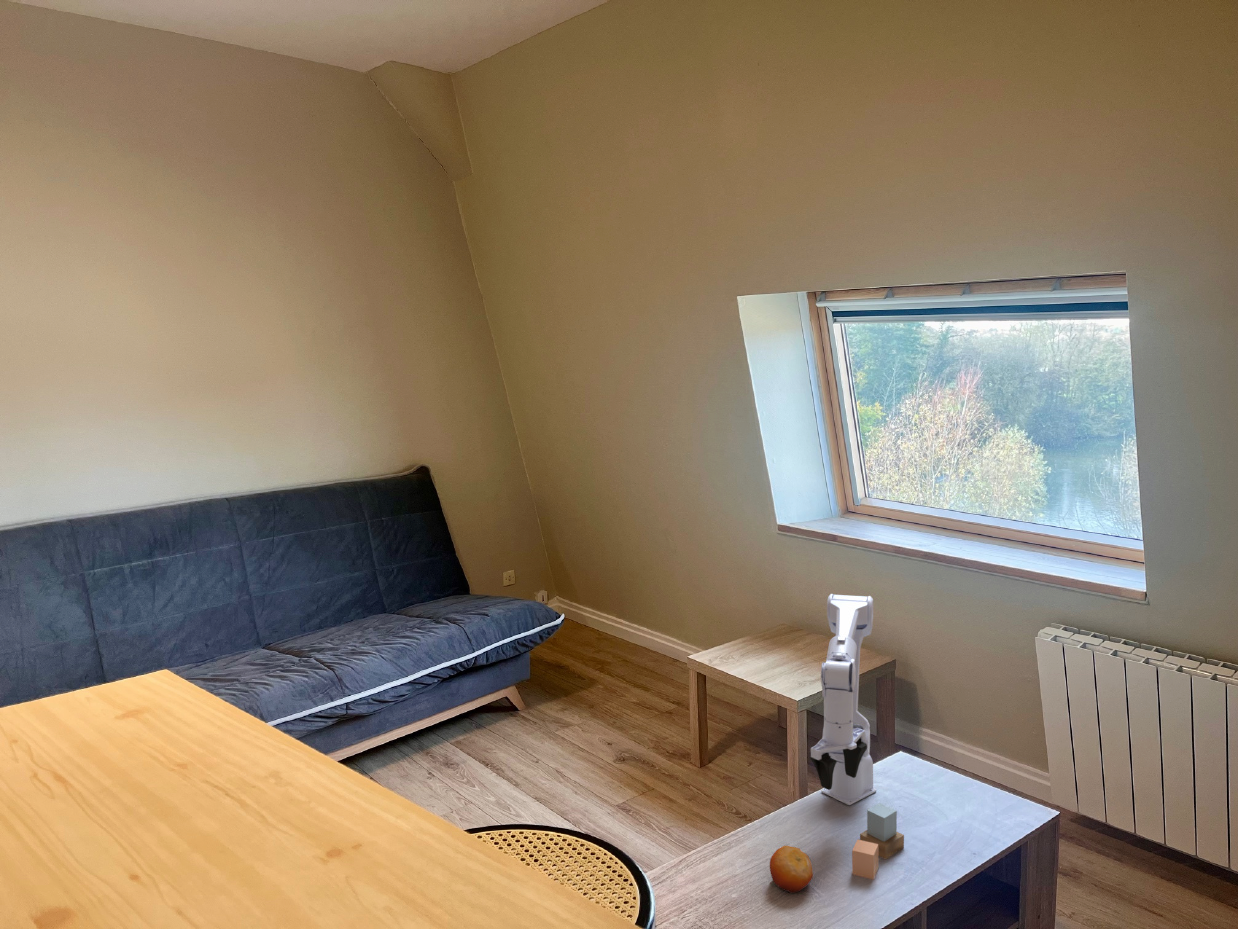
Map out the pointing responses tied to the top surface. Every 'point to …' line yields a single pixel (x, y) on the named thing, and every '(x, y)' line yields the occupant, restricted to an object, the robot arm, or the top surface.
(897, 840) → the walnut block
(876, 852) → the terracotta block
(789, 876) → the fruit
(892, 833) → the grayish teal block
